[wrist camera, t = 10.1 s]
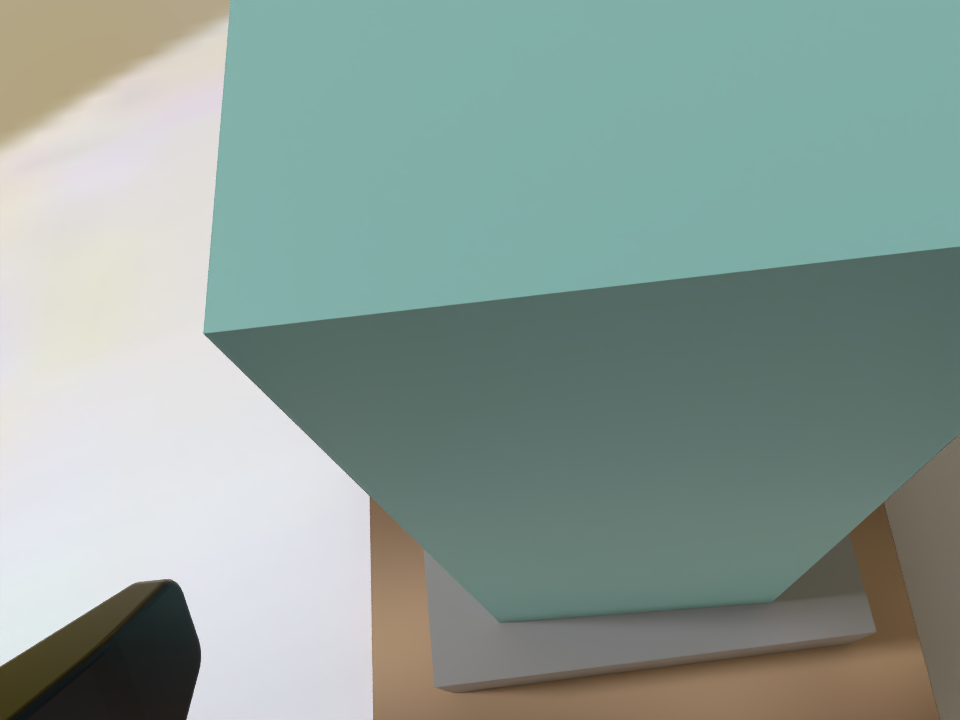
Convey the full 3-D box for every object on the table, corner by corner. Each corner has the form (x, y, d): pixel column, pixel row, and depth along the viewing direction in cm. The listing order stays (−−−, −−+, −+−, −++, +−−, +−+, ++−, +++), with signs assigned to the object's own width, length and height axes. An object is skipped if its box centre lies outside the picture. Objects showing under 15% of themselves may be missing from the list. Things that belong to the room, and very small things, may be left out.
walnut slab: (907, 742, 19) (945, 742, 16) (403, 778, 20) (374, 782, 18) (797, 288, 23) (815, 239, 21) (391, 341, 24) (366, 300, 22)
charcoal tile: (850, 643, 17) (876, 631, 16) (453, 693, 18) (434, 687, 16) (755, 290, 21) (767, 246, 19) (423, 345, 21) (404, 308, 20)
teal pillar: (771, 602, 16) (1199, 217, 4) (499, 623, 17) (205, 334, 5) (725, 353, 18) (927, -380, 6) (485, 378, 19) (251, -251, 7)
